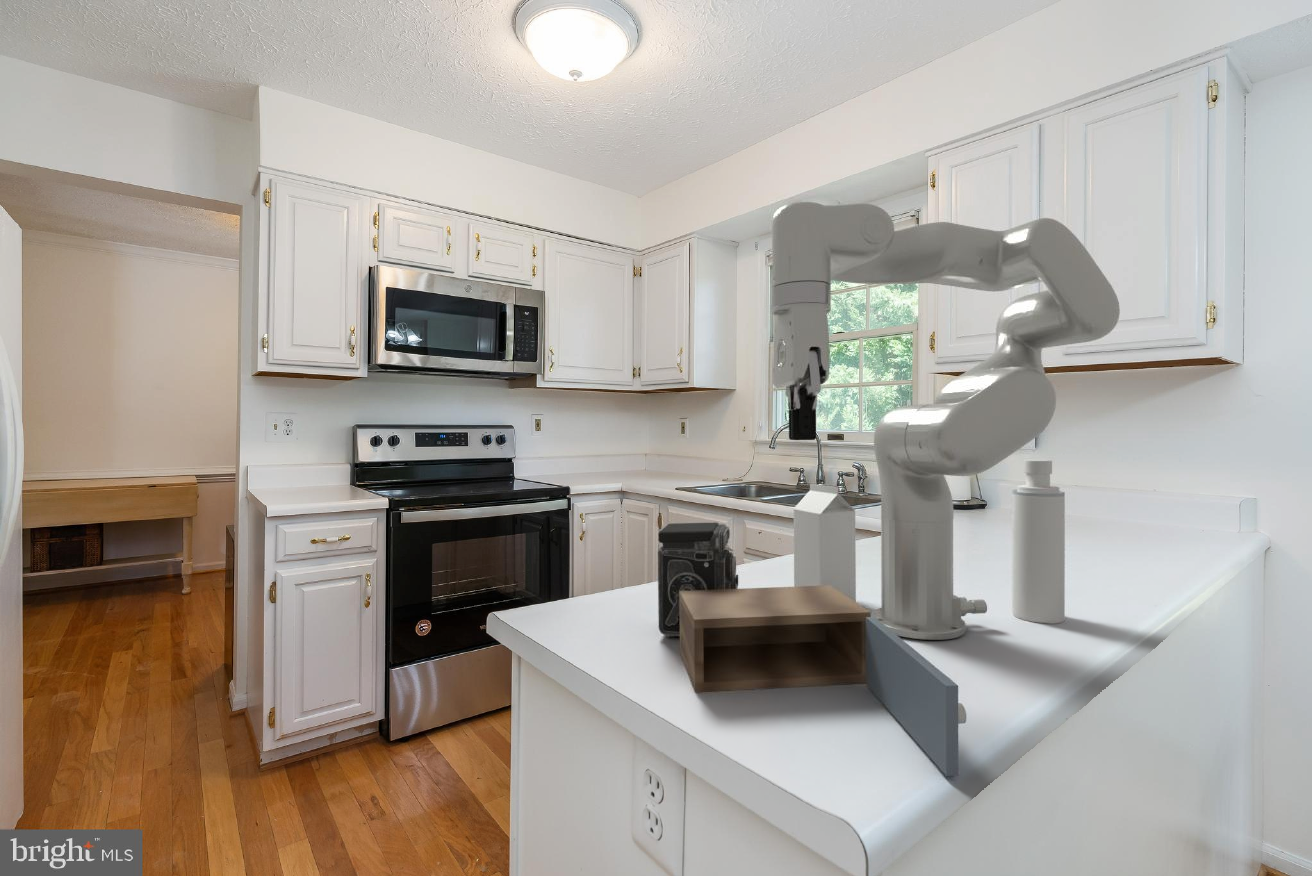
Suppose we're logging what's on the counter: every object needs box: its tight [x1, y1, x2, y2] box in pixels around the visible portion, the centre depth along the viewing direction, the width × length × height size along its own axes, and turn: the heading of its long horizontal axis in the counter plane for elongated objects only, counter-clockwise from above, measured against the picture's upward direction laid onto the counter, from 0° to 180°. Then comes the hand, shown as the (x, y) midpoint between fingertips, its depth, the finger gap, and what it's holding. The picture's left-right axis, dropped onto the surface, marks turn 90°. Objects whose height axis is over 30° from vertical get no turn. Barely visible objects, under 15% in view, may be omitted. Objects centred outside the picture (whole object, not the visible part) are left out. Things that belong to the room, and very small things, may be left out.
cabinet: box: [679, 585, 871, 693], centre depth 76 cm, size 20×12×8 cm, turn 96°
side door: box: [865, 617, 967, 777], centre depth 61 cm, size 18×2×7 cm, turn 1°
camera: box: [657, 522, 739, 638], centre depth 89 cm, size 10×10×15 cm
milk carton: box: [793, 483, 857, 603], centre depth 104 cm, size 7×7×19 cm
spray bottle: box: [1011, 459, 1066, 625], centre depth 94 cm, size 7×7×25 cm
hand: (802, 439), depth 84 cm, fingers closed
